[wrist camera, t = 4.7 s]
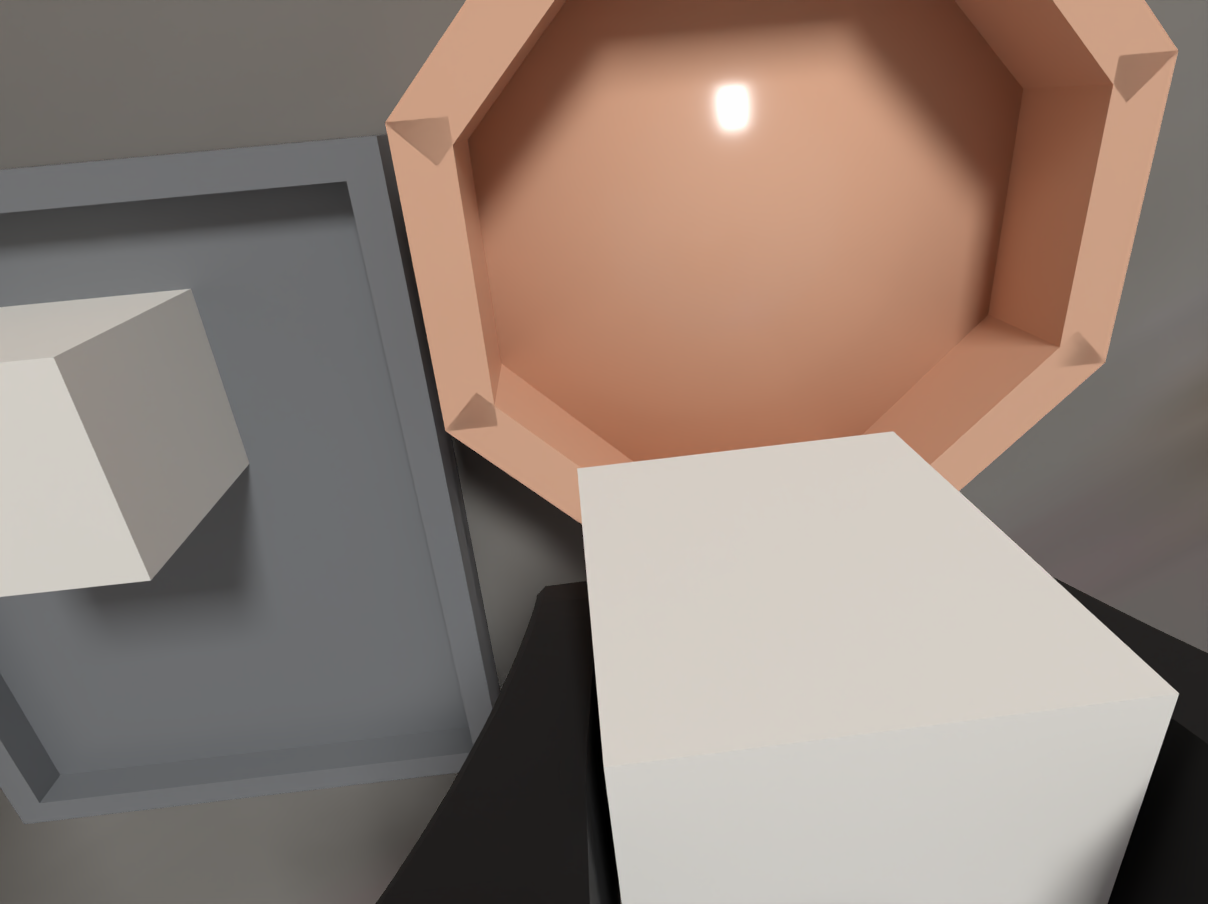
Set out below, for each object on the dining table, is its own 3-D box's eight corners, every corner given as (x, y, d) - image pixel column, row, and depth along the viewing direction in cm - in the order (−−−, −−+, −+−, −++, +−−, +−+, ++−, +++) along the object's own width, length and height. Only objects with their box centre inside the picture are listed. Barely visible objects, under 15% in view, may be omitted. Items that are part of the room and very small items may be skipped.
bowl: (990, 466, 18) (1066, 526, 16) (487, 520, 18) (476, 592, 15) (1101, -179, 13) (1250, -258, 10) (372, -121, 12) (324, -185, 10)
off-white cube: (249, 463, 16) (150, 580, 12) (70, 482, 16) (-89, 606, 12) (191, 288, 15) (52, 357, 10) (-10, 308, 14) (-228, 385, 10)
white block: (871, 673, 11) (1070, 1014, 7) (606, 707, 11) (644, 1074, 7) (893, 431, 9) (1180, 694, 5) (577, 468, 9) (604, 767, 5)
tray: (506, 724, 21) (504, 767, 20) (58, 777, 21) (24, 824, 19) (393, 133, 14) (376, 135, 13) (-287, 195, 14) (-377, 204, 12)
